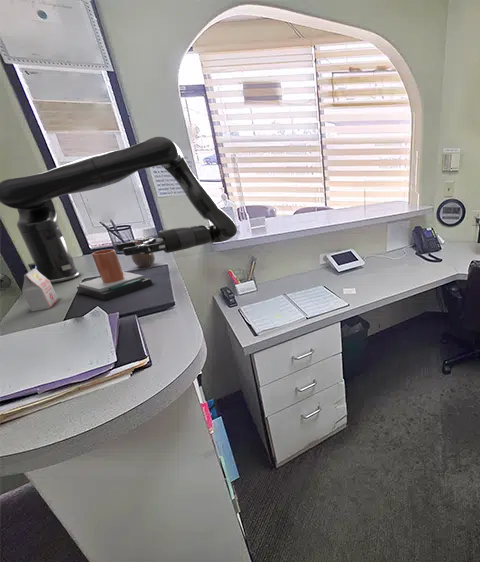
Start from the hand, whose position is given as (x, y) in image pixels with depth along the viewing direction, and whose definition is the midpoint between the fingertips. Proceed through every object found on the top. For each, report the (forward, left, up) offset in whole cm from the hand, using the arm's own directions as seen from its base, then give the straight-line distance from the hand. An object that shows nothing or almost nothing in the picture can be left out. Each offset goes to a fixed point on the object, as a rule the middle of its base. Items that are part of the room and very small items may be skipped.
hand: (120, 250), depth 95 cm
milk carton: (-7, -19, -12) cm, 23 cm away
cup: (-1, -4, -8) cm, 9 cm away
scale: (-1, -4, -11) cm, 12 cm away
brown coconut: (-17, +14, -12) cm, 25 cm away
